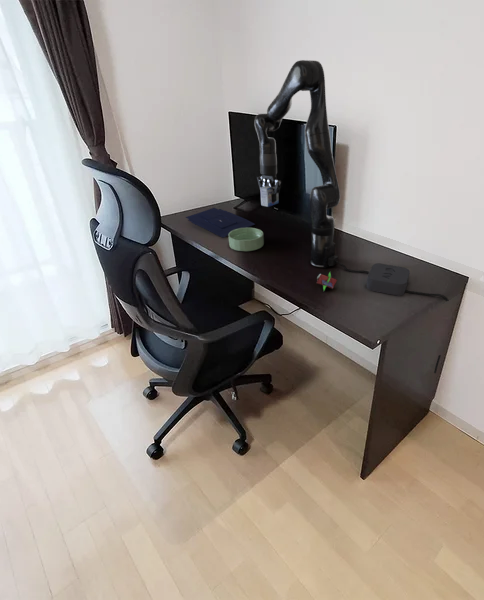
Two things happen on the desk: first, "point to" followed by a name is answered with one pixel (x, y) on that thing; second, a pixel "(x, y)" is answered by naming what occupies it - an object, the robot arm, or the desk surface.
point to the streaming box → (388, 279)
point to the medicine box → (267, 196)
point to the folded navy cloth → (219, 221)
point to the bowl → (246, 239)
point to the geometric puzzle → (326, 281)
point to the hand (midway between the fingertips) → (269, 200)
